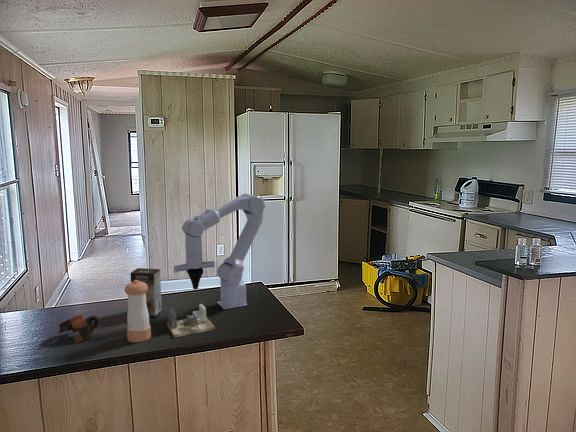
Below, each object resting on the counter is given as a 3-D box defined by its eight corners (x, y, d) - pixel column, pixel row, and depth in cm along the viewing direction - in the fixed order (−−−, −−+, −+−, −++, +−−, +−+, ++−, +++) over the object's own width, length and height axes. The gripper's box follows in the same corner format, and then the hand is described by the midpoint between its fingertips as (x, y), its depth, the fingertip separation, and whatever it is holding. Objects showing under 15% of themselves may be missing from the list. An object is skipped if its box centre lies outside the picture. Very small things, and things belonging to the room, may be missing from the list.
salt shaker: (128, 334, 143) (124, 277, 140) (151, 331, 145) (148, 276, 142) (126, 343, 136) (122, 284, 133) (150, 340, 138) (147, 282, 135)
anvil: (173, 322, 150) (172, 308, 149) (176, 327, 145) (176, 313, 145) (168, 322, 150) (168, 309, 149) (172, 328, 145) (171, 314, 144)
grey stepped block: (202, 316, 154) (201, 303, 154) (208, 323, 148) (207, 310, 147) (185, 319, 152) (185, 306, 151) (190, 326, 145) (190, 313, 145)
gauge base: (205, 318, 156) (205, 314, 156) (214, 329, 146) (214, 325, 146) (167, 325, 150) (166, 321, 150) (174, 337, 140) (174, 333, 140)
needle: (186, 324, 146) (186, 319, 146) (190, 328, 143) (189, 323, 143) (183, 324, 146) (183, 320, 146) (186, 329, 142) (186, 324, 142)
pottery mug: (67, 348, 134) (55, 324, 135) (66, 350, 142) (55, 327, 143) (105, 329, 141) (94, 306, 141) (103, 332, 149) (92, 310, 149)
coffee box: (131, 315, 159) (128, 272, 157) (139, 308, 165) (136, 267, 163) (155, 316, 158) (153, 273, 156) (162, 309, 165) (160, 268, 162)
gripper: (176, 257, 151) (178, 294, 153) (216, 252, 157) (217, 288, 159) (171, 252, 157) (173, 289, 159) (210, 248, 163) (212, 283, 166)
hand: (195, 288), depth 160 cm, fingers closed
